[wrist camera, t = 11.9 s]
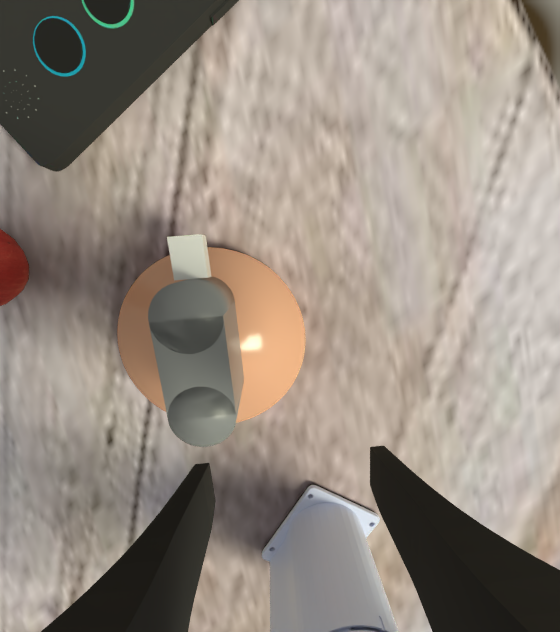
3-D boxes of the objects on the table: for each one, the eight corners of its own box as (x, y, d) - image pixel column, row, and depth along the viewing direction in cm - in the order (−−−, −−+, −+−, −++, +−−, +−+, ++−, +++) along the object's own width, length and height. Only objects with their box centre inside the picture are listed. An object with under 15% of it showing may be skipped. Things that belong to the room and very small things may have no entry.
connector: (246, 399, 21) (239, 443, 16) (196, 404, 21) (173, 449, 16) (227, 236, 18) (211, 228, 13) (168, 241, 18) (131, 235, 13)
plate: (250, 441, 23) (249, 451, 22) (97, 368, 21) (87, 375, 20) (336, 307, 21) (340, 310, 19) (174, 210, 18) (168, 207, 17)
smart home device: (-74, 47, 15) (183, -247, 13) (-39, 69, 17) (193, -189, 14) (43, 172, 16) (288, -71, 14) (64, 180, 18) (285, -36, 16)
